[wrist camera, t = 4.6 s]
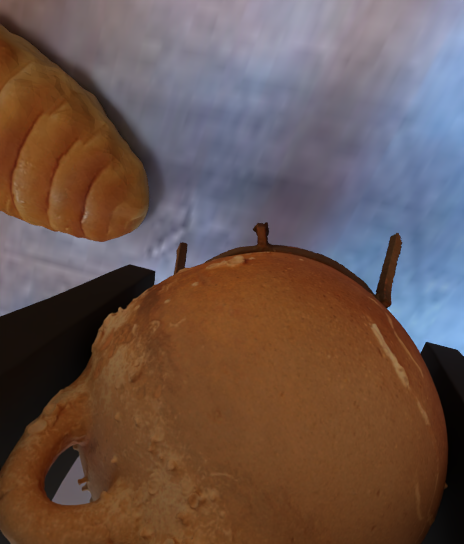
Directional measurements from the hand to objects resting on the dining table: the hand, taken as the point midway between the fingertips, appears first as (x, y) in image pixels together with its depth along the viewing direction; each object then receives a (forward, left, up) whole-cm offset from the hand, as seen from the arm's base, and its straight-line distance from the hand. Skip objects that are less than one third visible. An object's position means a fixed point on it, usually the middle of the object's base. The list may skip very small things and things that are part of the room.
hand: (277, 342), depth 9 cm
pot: (0, 0, -2) cm, 2 cm away
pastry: (+1, +11, -9) cm, 15 cm away
